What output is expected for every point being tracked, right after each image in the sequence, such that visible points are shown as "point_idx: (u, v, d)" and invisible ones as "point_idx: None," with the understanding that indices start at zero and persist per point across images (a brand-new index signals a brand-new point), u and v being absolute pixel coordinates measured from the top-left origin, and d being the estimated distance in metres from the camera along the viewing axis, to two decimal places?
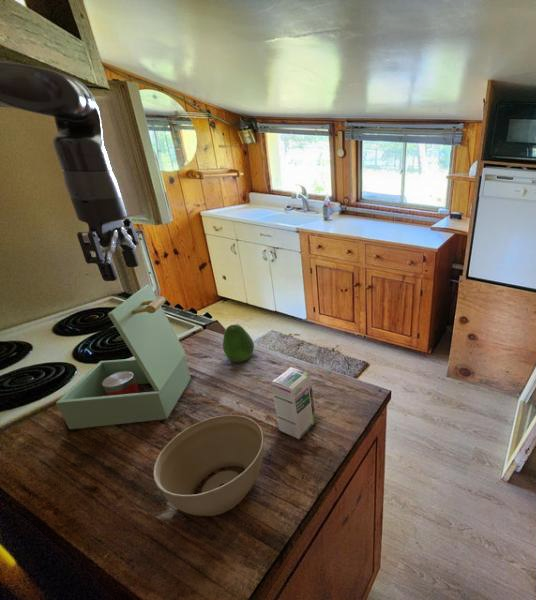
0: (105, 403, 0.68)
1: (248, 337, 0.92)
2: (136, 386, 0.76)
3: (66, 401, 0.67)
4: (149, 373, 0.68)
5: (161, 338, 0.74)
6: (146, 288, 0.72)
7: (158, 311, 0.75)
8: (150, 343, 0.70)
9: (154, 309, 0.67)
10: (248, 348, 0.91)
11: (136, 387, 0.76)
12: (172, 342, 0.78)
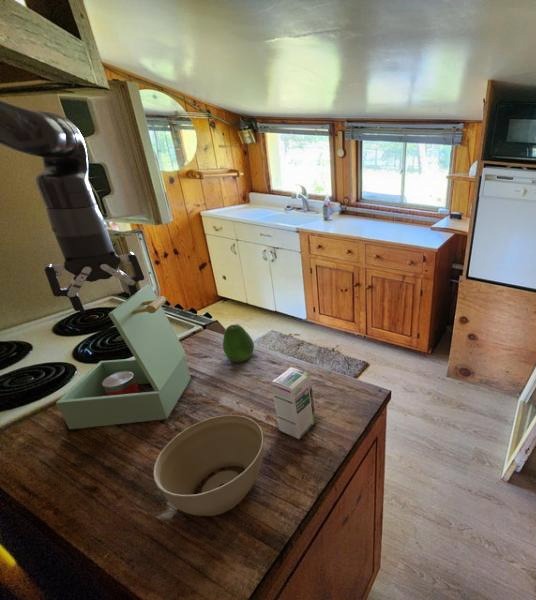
0: (105, 403, 0.68)
1: (248, 337, 0.92)
2: (136, 386, 0.76)
3: (66, 401, 0.67)
4: (149, 373, 0.68)
5: (161, 338, 0.74)
6: (146, 288, 0.72)
7: (158, 311, 0.75)
8: (150, 343, 0.70)
9: (154, 309, 0.67)
10: (248, 348, 0.91)
11: (136, 387, 0.76)
12: (172, 342, 0.78)
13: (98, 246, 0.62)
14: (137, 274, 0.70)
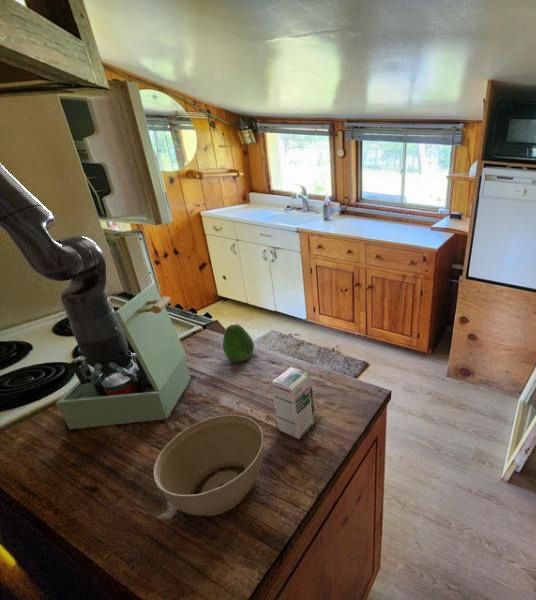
0: (105, 403, 0.68)
1: (248, 337, 0.92)
2: None
3: (66, 401, 0.67)
4: (150, 373, 0.68)
5: (163, 338, 0.74)
6: (151, 287, 0.73)
7: (161, 311, 0.75)
8: (153, 343, 0.70)
9: (159, 309, 0.67)
10: (248, 348, 0.91)
11: None
12: (173, 342, 0.78)
13: (101, 351, 0.67)
14: (140, 373, 0.73)
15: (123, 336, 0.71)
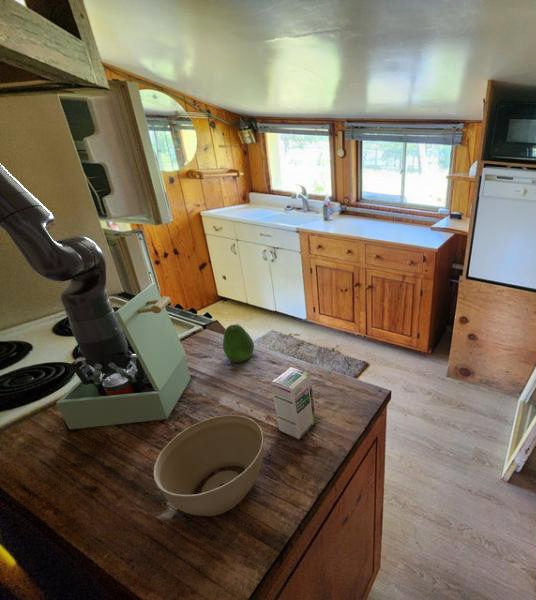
0: (105, 403, 0.68)
1: (248, 337, 0.92)
2: None
3: (66, 401, 0.67)
4: (150, 373, 0.68)
5: (163, 338, 0.74)
6: (151, 287, 0.73)
7: (161, 311, 0.75)
8: (153, 343, 0.70)
9: (159, 309, 0.67)
10: (248, 348, 0.91)
11: None
12: (173, 342, 0.78)
13: (101, 351, 0.67)
14: (139, 374, 0.73)
15: (123, 336, 0.71)
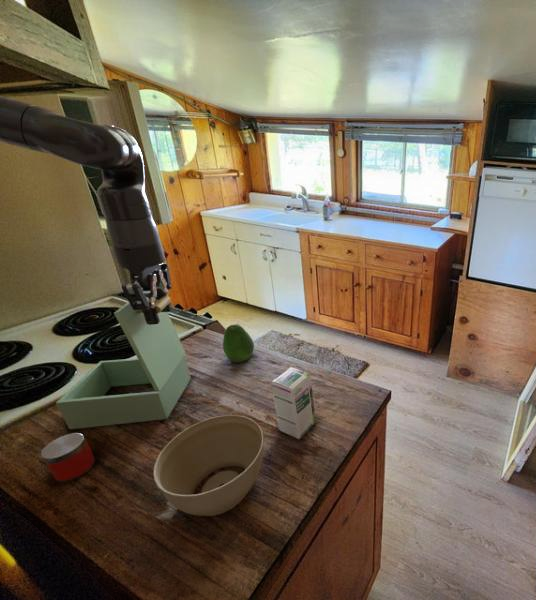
0: (105, 403, 0.68)
1: (248, 337, 0.92)
2: (88, 452, 0.61)
3: (66, 401, 0.67)
4: (150, 373, 0.68)
5: (163, 338, 0.74)
6: None
7: None
8: (153, 343, 0.70)
9: (159, 309, 0.67)
10: (248, 348, 0.91)
11: (88, 453, 0.61)
12: (173, 342, 0.78)
13: None
14: (168, 282, 0.72)
15: None
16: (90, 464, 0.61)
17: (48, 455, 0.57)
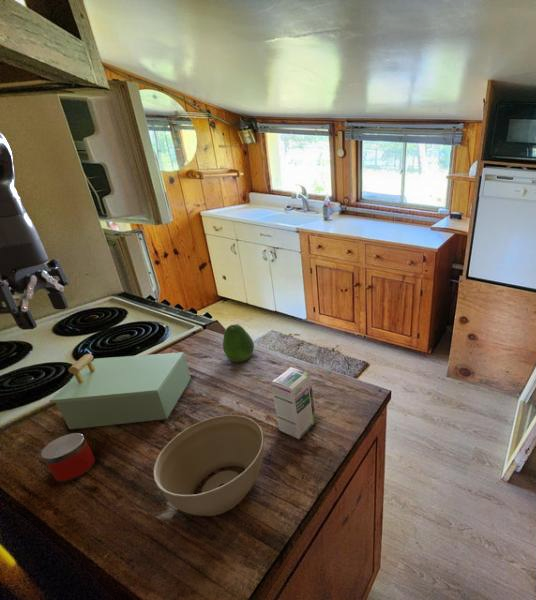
0: (105, 403, 0.68)
1: (248, 337, 0.92)
2: (88, 452, 0.61)
3: None
4: (132, 392, 0.69)
5: (136, 368, 0.76)
6: (91, 362, 0.77)
7: (120, 360, 0.78)
8: (120, 379, 0.72)
9: (73, 367, 0.69)
10: (248, 348, 0.91)
11: (88, 453, 0.61)
12: (156, 360, 0.79)
13: (44, 251, 0.62)
14: (63, 279, 0.69)
15: None
16: (90, 464, 0.61)
17: (48, 455, 0.57)
